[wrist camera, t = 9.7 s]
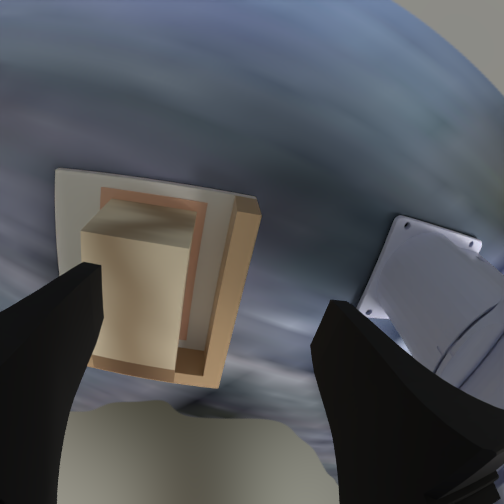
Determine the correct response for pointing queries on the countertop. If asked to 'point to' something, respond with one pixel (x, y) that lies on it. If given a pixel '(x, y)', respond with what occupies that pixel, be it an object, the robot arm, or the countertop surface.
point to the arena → (200, 264)
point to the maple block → (140, 284)
